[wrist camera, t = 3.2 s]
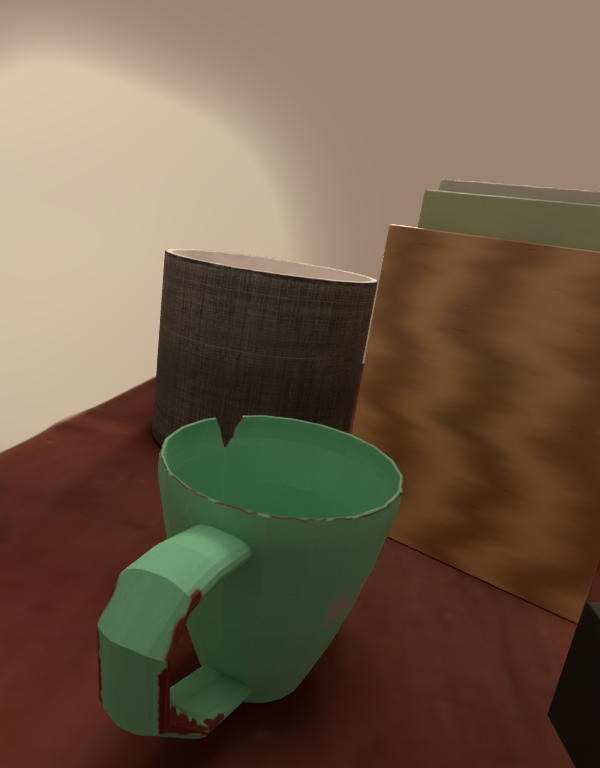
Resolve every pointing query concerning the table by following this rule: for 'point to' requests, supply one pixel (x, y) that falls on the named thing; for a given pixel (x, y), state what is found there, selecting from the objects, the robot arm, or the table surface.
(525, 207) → the scale
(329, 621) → the mug
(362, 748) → the table surface
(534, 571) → the riser
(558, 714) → the robot arm
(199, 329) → the planter
